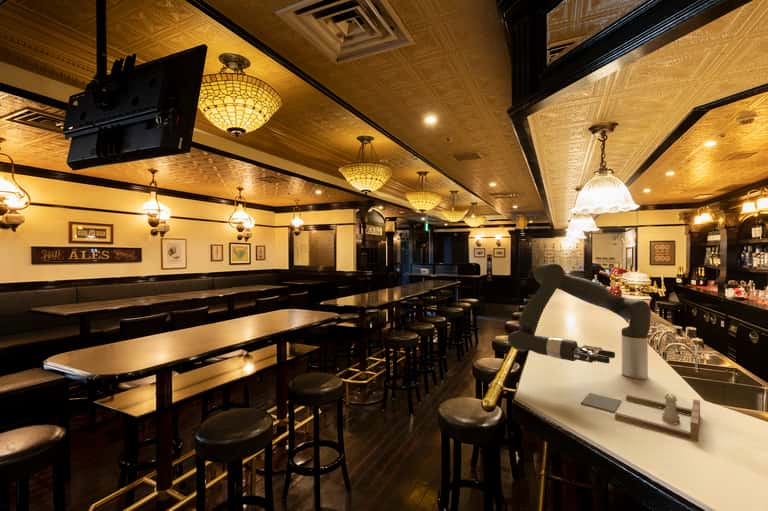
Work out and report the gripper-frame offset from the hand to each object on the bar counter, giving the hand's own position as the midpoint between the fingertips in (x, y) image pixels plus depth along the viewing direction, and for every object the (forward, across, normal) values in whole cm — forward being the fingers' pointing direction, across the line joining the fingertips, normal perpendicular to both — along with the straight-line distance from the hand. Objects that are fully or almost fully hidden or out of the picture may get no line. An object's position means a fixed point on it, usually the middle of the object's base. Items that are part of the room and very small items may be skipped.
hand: (612, 357), depth 119 cm
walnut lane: (+12, 0, +17) cm, 20 cm away
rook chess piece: (+16, 0, +17) cm, 23 cm away
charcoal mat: (-3, 0, +17) cm, 17 cm away
